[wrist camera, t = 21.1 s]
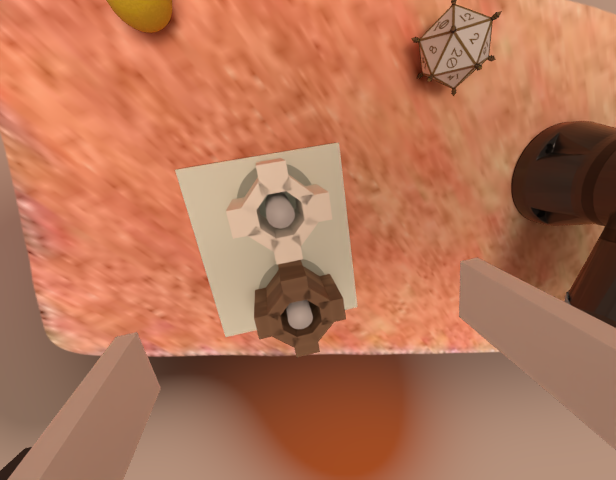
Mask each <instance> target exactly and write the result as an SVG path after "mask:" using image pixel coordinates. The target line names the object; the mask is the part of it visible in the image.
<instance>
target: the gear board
mask: <svg viewBox="0 0 616 480" xmlns="http://www.w3.org/2000/svg"><path fill="white" fill-rule="evenodd" d="M278 158H282V159H284V160H286V165H287V170H288V174H289V175H290V176H292V177H293V178H294V179H296V180H297V181H298V182H300V183H301V184H303V185H304V186H308V185H314V184H317V185H319V186H320V187H322V188H323V189H325V190H326V191H328V192H329V197H330V205H331V213H332V219H331V220H326V221H321V222H318V224H317V225H316V226H315V228H314V229H313V231H312V232H311V233H310V235H309V236H308V237H307V239H306V240H305V242H304V243H303V244H302V246H301V250H302V256H303V259H302V260H301V262H302V265H303V266H304V267H306V268H307V269H309V270H310V271H312V272H314V273H315V274H317V275H319V276H322V275H327V274H330V275H331V277H332V279H333V280H334V282H335V284H336V286H337V288H338V290H339V291H340V293H341V295H342V297H343V300H344V308H345V310H347V309H351V308H356V307H357V298H356V290H355V281H354V272H353V263H352V254H351V245H350V236H349V227H348V218H347V209H346V200H345V191H344V182H343V174H342V165H341V156H340V147H339V143H331V144H325V145H319V146H313V147H307V148H301V149H295V150H289V151H283V152H277V153H271V154H265V155H259V156H253V157H247V158H241V159H235V160H229V161H223V162H217V163H211V164H205V165H199V166H193V167H187V168H181V169H177V170H175V171H176V175H177V178H178V181H179V185H180V188H181V191H182V195H183V198H184V201H185V204H186V208H187V211H188V214H189V218H190V221H191V224H192V228H193V231H194V234H195V238H196V241H197V244H198V247H199V251H200V254H201V257H202V261H203V264H204V267H205V271H206V274H207V277H208V281H209V284H210V287H211V290H212V294H213V297H214V300H215V304H216V307H217V310H218V314H219V317H220V320H221V324H222V327H223V330H224V333H225V337H228V336H233V335H237V334H242V333H246V332H250V331H255V330H257V328H256V324H255V321H254V302H255V290H257V289H262V288H266V287H267V285H268V284H269V282H270V281H271V280H272V278H273V277H274V276H275V274H276V273H277V271H278V270H279V268H278V265H277V264H276V259H275V255H274V252H273V251H271V250H270V249H268V248H266V247H265V246H263V245H262V244H260V243H258V242H257V241H255V240H253V239H252V238H250V237H248V236H245V237H239V238H234V239H233V237H232V233H231V229H230V225H229V222H228V218H227V214H226V210H227V208H228V206H229V204H230V202H231V201H232V199H237V198H242V197H245V195H246V194H247V192H248V191H249V189H250V188H251V186H252V185H253V183H254V182H255V180H256V179H257V177H258V174H257V169H256V163H257V162H260V161H266V160H272V159H278ZM296 208H297V205H296V199H295V197H294V196H292V195H291V194H290V193H288V192H287V191H284V192H279V193H273V194H268V195H266V197H265V198H264V200H263V201H262V203H261V204H260V206H259V211H260V214H261V215H262V216H264V217H266V218H267V220H268V222H269V224H270V225H272V226H273V227H275V228H286V227H288V226H289V225H290V224H291V223H292V222H293V220H294V217H295V212H294V210H295V209H296ZM286 311H287V317H288V322H289V324H290V326H291V327H293V328H295V329H304V328H306V327H308V326H309V325H310V324H311V322H312V319H313V315H312V312H311V309H310V306H309V302H308V300H302V301H298V302H293V303H290V304H289V305H288V306H287V308H286Z"/></svg>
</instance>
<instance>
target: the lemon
mask: <svg viewBox="0 0 616 480" xmlns="http://www.w3.org/2000/svg"><path fill="white" fill-rule="evenodd" d="M107 2H108V3H109V5H110V6H111V8H112V9H113V11H114V12H115V13H116V14H117V15H118V16H119V17H120V18H121V19H122V20H123V21H124V22H125V23H127V24H128V25H130V26H131V27H133V28H134V29H137V30H140V31H142V32H149V33H152V32H158V31H160V30H162V29H163V28H164V27H165V26H166V25H167V24H168V22H169V21H170V19H171V15H172V0H107Z"/></svg>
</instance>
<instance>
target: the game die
mask: <svg viewBox="0 0 616 480" xmlns="http://www.w3.org/2000/svg"><path fill="white" fill-rule="evenodd" d="M456 1H457V0H451V3H452V6H451V7H450V8H449V9H448V10H447V11H446V12H445V13H444V14H443V15H442V16H441V17H440V18H439V19H438V21H437V22H436V23H435V24H434V25H433V26H432V27H431V28H430V29H429V30H428V31H427V32H426V33H425V34H424V35H423V36H422V37H421V38H420V39H419V38H416V37H415V38H412V40H413V42H416V43H417V42H418V43H419V50H420V59H421V68H422V73H420V74H418V77H417V79H418V78H419V79H420V78H421V77H422V76H423V75H424V76H427V77H428V78H427V82H429V81H432V79H433V80H435V81H437V82H439V83H441V84H443V85H446V86H448V87H450V88H452V91H451V92H452V93H451V94H452V95H453V96H454V95H455V94H456V89H455V88H456V87H457V86H458V85H459V84H460V83H462V82H463V81H464V80H465V79H466V78H467V77H468V76H469V75H470V74H472V73H473V72H474V71H475V70H476V69H477V70H481V69H482V64H483V63H484V62H485V61H486V60H487V59H488V60H489V61H493V60H496V59H495V58H494V56H492V55H491V56H489V51H490V41H491V31H492V21H493V20H495V19H496V18H499V15H500V13H501V12H502V11H501V12H496V13H495V14H494V15H493V16H492V17H488V16H486V15H483V14H480V13H478V12H475V11H472V10H470V9H467V8H464V7H462V6H459V5H456Z"/></svg>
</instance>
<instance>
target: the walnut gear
mask: <svg viewBox="0 0 616 480" xmlns="http://www.w3.org/2000/svg"><path fill="white" fill-rule="evenodd" d="M278 268H279V270H278V271H277V273H276V274H275V276H274V277H273V278H272V280H271V281H270V282H269V284H268V285H267V287H266V288H262V289H257V290H255V302H254V321H255V324H256V328H257V332H258V336H259V339H263V338H267V337H271V336H272V337H274V338H276V339H278V340H280V341H282V342H284V343H286V344H288V345H290V346H292V347H295V352H296V357H300V356H304V355H309V354H313V353H317V352H320V350H319V344H318V341H319V340H320V339H321V338H322V336H323V335H324V334H325V333H326V331H327V330H328V329H329V328H330V326H331V325H332V324H333V323H334V322H336V321H340V320H344V319H346V316H345V308H344V300H343V297H342V295H341V293H340V291H339V290H338V288H337V286H336V284H335V282H334V280H333V279H332V277H331V275H330V274H327V275H322V276H319V275H317V274H315V273H314V272H312V271H310V270H309V269H307V268H306V267H304V266H303V265H302V262H301V260H297V261H292V262H287V263H282V264H278ZM302 300H308V302H309V306H310V309H311V312H312V315H313V319H312V322H311V324H310V325H309V326H308V327H306V328H304V329H295V328H293V327H291V326H290V324H289V322H288V317H287V311H286V308H287V306H288V305H289V304H290V303H293V302H298V301H302Z"/></svg>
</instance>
